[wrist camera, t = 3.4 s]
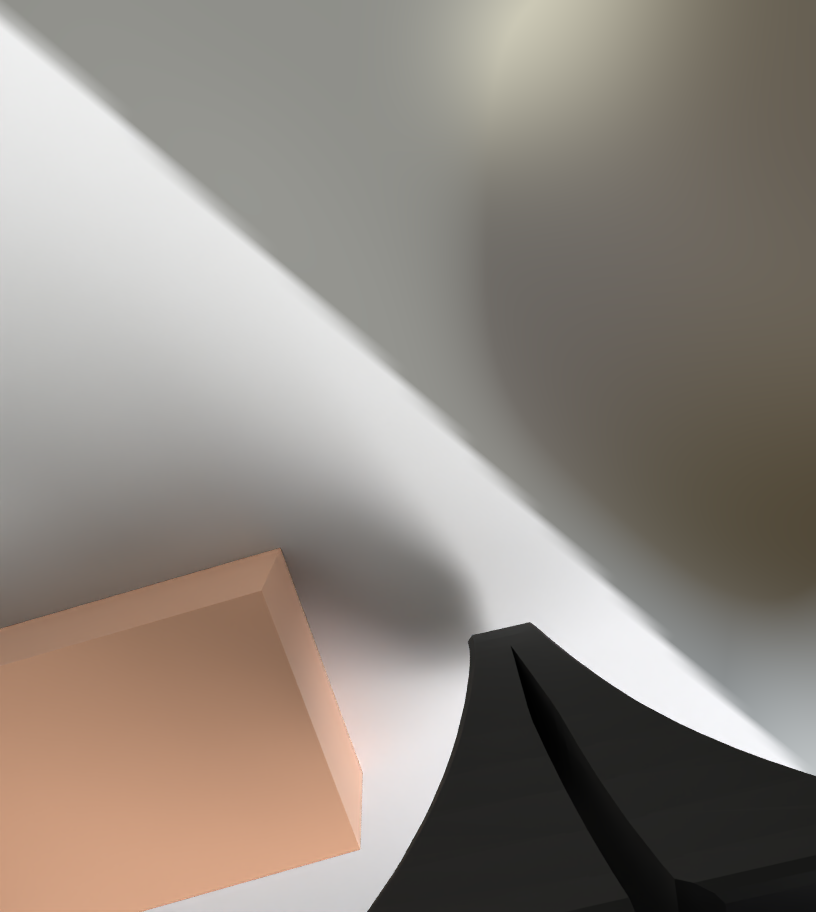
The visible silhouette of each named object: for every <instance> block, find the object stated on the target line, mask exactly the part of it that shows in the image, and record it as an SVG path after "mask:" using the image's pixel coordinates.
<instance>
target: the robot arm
mask: <svg viewBox="0 0 816 912" xmlns="http://www.w3.org/2000/svg"><path fill="white" fill-rule="evenodd" d="M468 644H469V649H470V668H469V679H468V685H467V692H466V699H465V704H464V709H463V713H462V717H461V721H460V725H459V729H458V733H457V737H456V740H455V743H454V747H453V750H452V753H451V756H450V759H449V762H448V764H447V767H446V770H445V773H444V775H443V778H442V780H441V782H440V785H439V787H438V790H437V792H436V794H435V797H434V799H433V801H432V804H431V806H430V808H429V810H428V812H427V814H426V816H425V818H424V820H423V822H422V824H421V826H420V828H419V829H418V831H417V833H416V835H415V837H414V838H413V840H412V842H411V844H410V846H409V848H408V849H407V851H406V853H405V855H404V857H403V858H402V860H401V862H400V864H399V865H398V867H397V868H396V870H395V872H394V873H393V875H392V876H391V878H390V879H389V881H388V882H387V884H386V885H385V886H384V888H383V889H382V891H381V892H380V894H379V895H378V897H377V898H376V900H375V901H374V903H373V904H372V906H371V907H370V909H369V910H368V911H367V912H816V776H814V775H811V774H807V773H804V772H801V771H798V770H795V769H792V768H789V767H786V766H783V765H780V764H778V763H775V762H772V761H769V760H766V759H763V758H760V757H757V756H755V755H752V754H749V753H747V752H744V751H742V750H739V749H736V748H734V747H731V746H729V745H727V744H724V743H722V742H720V741H717V740H715V739H713V738H710V737H708V736H706V735H703V734H701V733H699V732H696V731H694V730H692V729H690V728H688V727H686V726H683V725H681V724H679V723H677V722H675V721H673V720H671V719H670V718H668V717H666V716H664V715H662V714H660V713H658V712H656V711H654V710H652V709H650V708H649V707H647V706H645V705H643V704H641V703H640V702H638V701H636V700H634V699H633V698H631V697H630V696H628V695H626V694H625V693H623V692H622V691H620V690H619V689H617V688H616V687H614V686H612V685H611V684H609V683H608V682H607V681H605V680H604V679H602V678H601V677H599V676H598V675H596V674H595V673H594V672H592V671H591V670H590V669H588V668H587V667H585V666H584V665H583V664H581V663H580V662H579V661H577V660H576V659H575V658H573V657H572V656H571V655H569V654H568V653H567V652H566V651H564V650H563V649H562V648H561V647H560V646H558V645H557V644H556V643H555V642H553V641H552V640H551V639H550V638H549V637H547V636H546V635H545V634H544V633H543V632H542V631H541V630H539V629H538V628H537V627H536V626H534V625H533V624H531V623H530V622H529V623H525V624H520V625H516V626H511V627H507V628H502V629H498V630H494V631H489V632H485V633H480V634H476V635H472V636H471V638H470V639H469V641H468Z"/></svg>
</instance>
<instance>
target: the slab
mask: <svg viewBox="0 0 816 912" xmlns="http://www.w3.org/2000/svg"><path fill="white" fill-rule="evenodd" d="M362 775H363V773H362V770H361V767H360V764H359V762H358V759H357V756H356V753H355V751H354V748H353V745H352V742H351V740H350V737H349V734H348V732H347V729H346V726H345V723H344V721H343V718H342V715H341V712H340V710H339V707H338V704H337V701H336V699H335V696H334V693H333V690H332V688H331V685H330V682H329V680H328V677H327V674H326V671H325V669H324V666H323V663H322V660H321V658H320V655H319V652H318V649H317V647H316V644H315V641H314V638H313V636H312V633H311V630H310V628H309V625H308V622H307V619H306V617H305V614H304V611H303V608H302V606H301V603H300V600H299V597H298V595H297V592H296V589H295V586H294V584H293V581H292V578H291V576H290V573H289V570H288V567H287V565H286V562H285V559H284V556H283V554H282V551H281V548H278V549H274V550H271V551H267V552H264V553H260V554H257V555H253V556H250V557H246V558H243V559H239V560H236V561H233V562H229V563H226V564H222V565H219V566H215V567H212V568H208V569H205V570H201V571H198V572H194V573H191V574H188V575H184V576H181V577H177V578H174V579H170V580H167V581H163V582H160V583H156V584H153V585H149V586H146V587H143V588H139V589H136V590H132V591H129V592H125V593H122V594H118V595H115V596H111V597H108V598H105V599H101V600H98V601H94V602H91V603H87V604H84V605H80V606H77V607H73V608H70V609H66V610H63V611H60V612H56V613H53V614H49V615H46V616H42V617H39V618H35V619H32V620H28V621H25V622H21V623H18V624H15V625H11V626H8V627H4V628H1V629H0V912H142V911H145V910H149V909H152V908H156V907H159V906H163V905H166V904H170V903H174V902H177V901H181V900H184V899H188V898H191V897H195V896H198V895H202V894H205V893H209V892H212V891H216V890H219V889H223V888H226V887H230V886H233V885H237V884H240V883H244V882H247V881H251V880H255V879H258V878H262V877H265V876H269V875H272V874H276V873H279V872H283V871H286V870H290V869H293V868H297V867H300V866H304V865H307V864H311V863H314V862H318V861H321V860H325V859H328V858H332V857H336V856H339V855H343V854H346V853H350V852H353V851H357V850H360V840H361V808H362Z"/></svg>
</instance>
